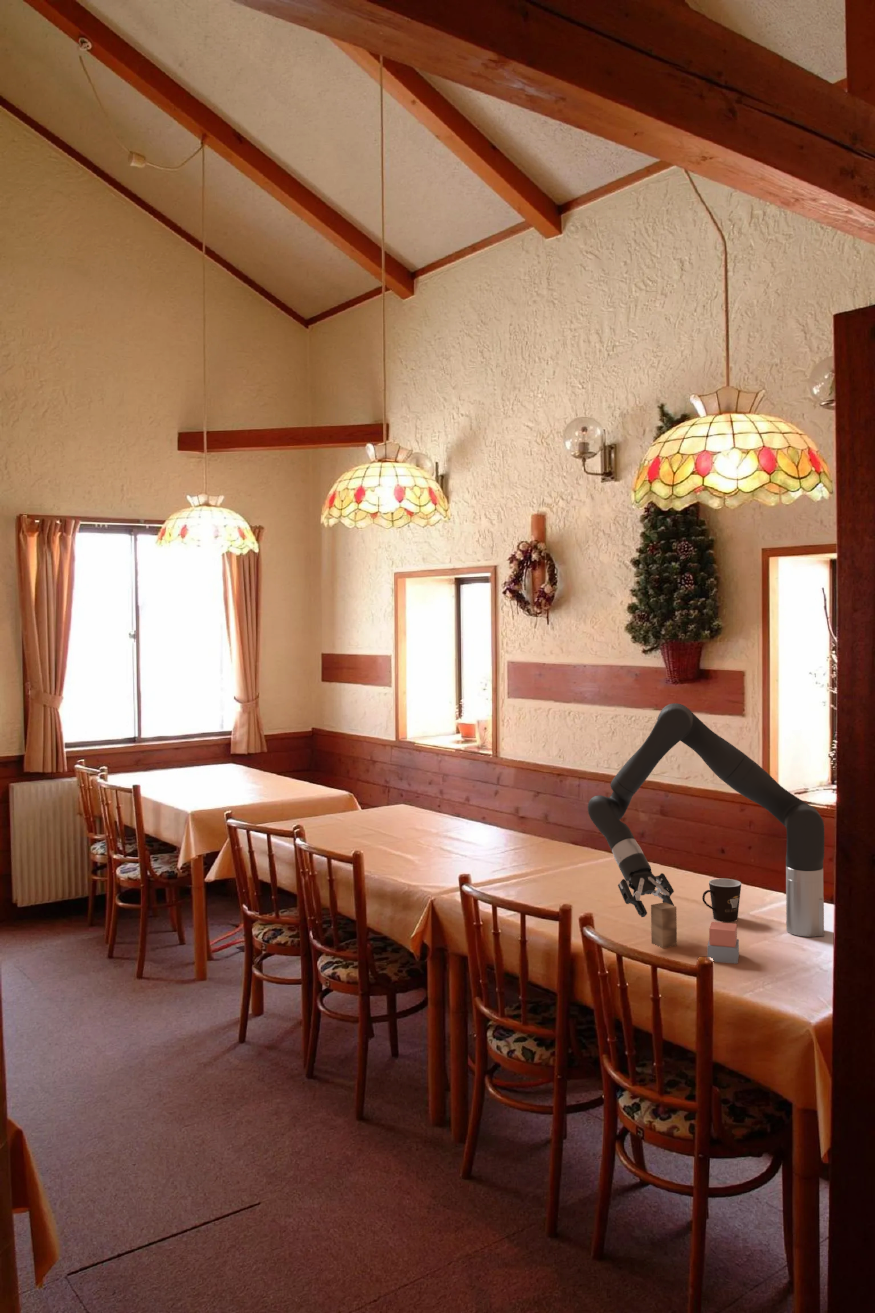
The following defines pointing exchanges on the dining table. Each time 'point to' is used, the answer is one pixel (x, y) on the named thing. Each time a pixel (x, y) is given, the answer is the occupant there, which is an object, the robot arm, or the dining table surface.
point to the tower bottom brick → (724, 953)
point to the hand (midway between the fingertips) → (658, 913)
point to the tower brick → (723, 934)
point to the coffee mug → (724, 899)
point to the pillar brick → (663, 925)
